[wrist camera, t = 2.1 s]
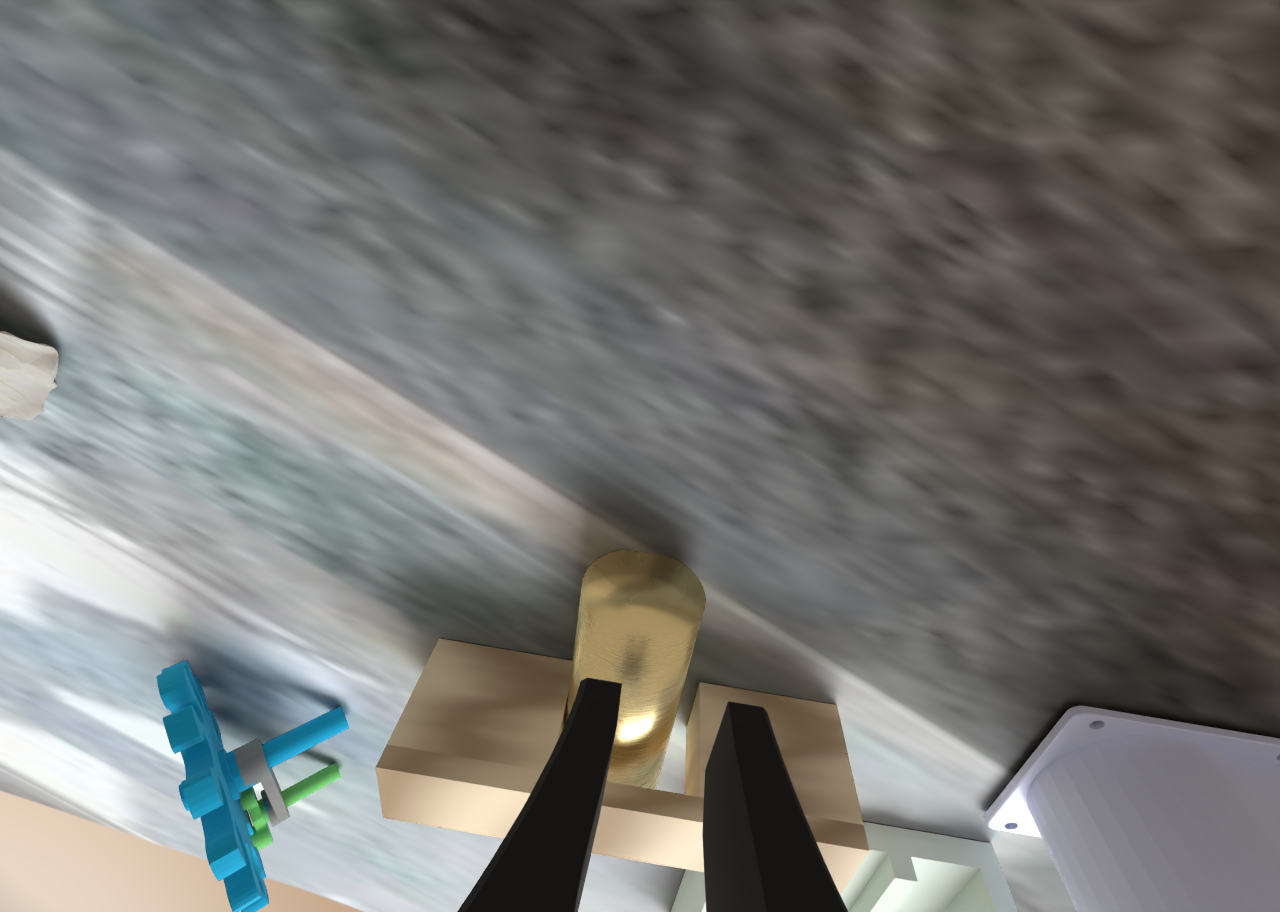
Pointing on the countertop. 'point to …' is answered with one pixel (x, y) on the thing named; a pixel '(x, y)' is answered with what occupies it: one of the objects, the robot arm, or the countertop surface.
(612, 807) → the beam
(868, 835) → the pale green slotted tray
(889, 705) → the countertop surface
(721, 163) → the countertop surface
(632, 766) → the axle
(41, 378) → the artificial flower
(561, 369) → the countertop surface
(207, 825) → the gear
